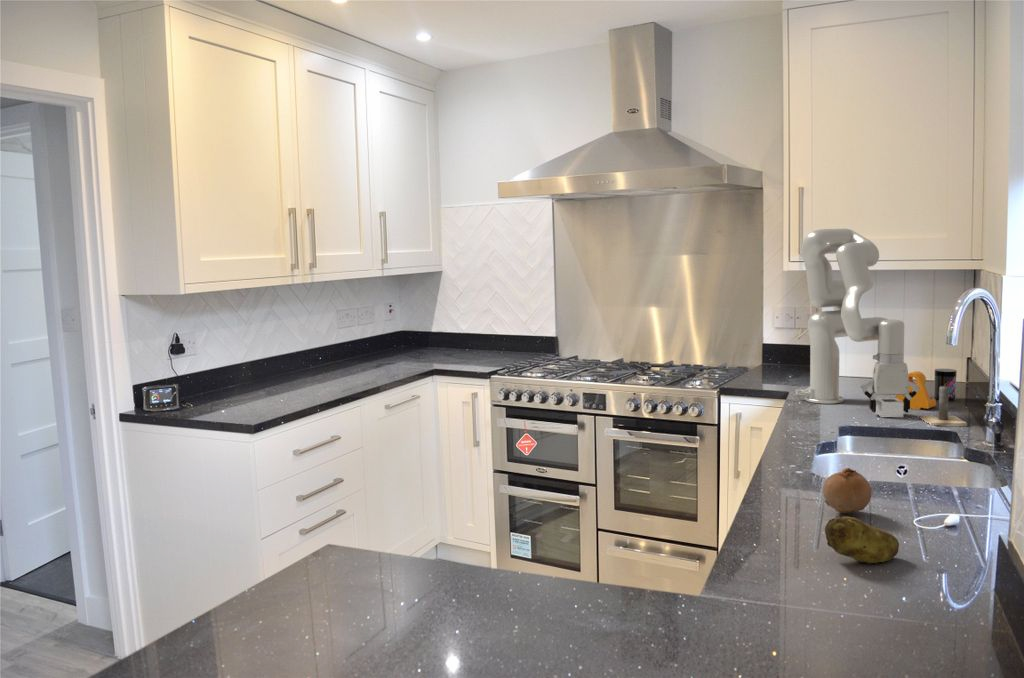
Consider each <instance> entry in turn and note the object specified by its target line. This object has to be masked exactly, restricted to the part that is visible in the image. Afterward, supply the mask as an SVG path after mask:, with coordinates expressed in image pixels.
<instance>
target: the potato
mask: <svg viewBox="0 0 1024 678" xmlns="http://www.w3.org/2000/svg"><path fill="white" fill-rule="evenodd" d="M824 534H825V538H826V540H827V542H826V544H827V545H828V547H829V548H832V549H833V550H834V551H835V552H836V553H837V554H839V555H841V556H844V557H849V558H851V559H854V560H855V561H857V560H858V561H857V562H860V561H862V562H861V563H863V562H868V563H867V564H871V563H875V564H878V563H877V562H882V563H885V561H886V562H888V561H891V559H893V558H895V557H896V556H897V554H898V553H899V547H900V544H899V543H900V542H899V540H898V539H897V537H895V536H894V535H893V534H891V533H890V532H887V531H886V530H883V529H880V528H877V527H875V526H872V525H870V524H867V523H865V522H864V521H862V520H860V519H858V518H856V517H852V516H843V515H842V516H837V517H834V518H831V519H829V520H828V521H827V523H826V524H825V527H824Z"/></svg>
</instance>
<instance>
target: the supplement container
mask: <svg viewBox="0 0 1024 678" xmlns="http://www.w3.org/2000/svg"><path fill="white" fill-rule="evenodd" d="M957 373H958V372H957V370H956V369H953V368H935V369H934V378H933V379H934V381H933V383H934V384H933V385H934V386H933V388H934V389H933V399H936V401H938V402H939V387H940V386H946V387H949V397H948V402H955V400H956V399H957V377H958V376H957V375H958V374H957Z"/></svg>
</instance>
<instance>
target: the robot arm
mask: <svg viewBox="0 0 1024 678" xmlns="http://www.w3.org/2000/svg"><path fill="white" fill-rule="evenodd" d="M828 254H831V255H833V254H835V258H836V262H837V265H838V269H839V272H840V275H841V278H842V279H839V278H838V279H834V276H833V268H832V265H831V263H830V261H829V259H828V258H827V257H826V255H828ZM801 256H802V260H803V264H804V267H805V272H806V273H805V274H806V281H807V282H806V283H807V291H808V298H809V303H810V304H811V305H812V306H813V307H815V308H832V309H833V310H824V311H822V310H821V311H818V312H815V313H814V314H812V315H811V316H809V319H808V321H807V333H808V337H809V345H810V346H809V347H810V349H809V351H810V352H809V353H810V355H809V358H810V362H809V363H810V364H809V369H810V370H809V375H810V376H809V386H807V388H805V389H802V388H800V389H798V388H797V389H795V395H797V396H799V395H800V396H805V397H804V398H805V399H804V400H805V401H807V402H809V403H813V404H822V405H826V404H827V405H830V404H840V403H843V402H844V400H845V399H844V397H843V396H841V395H840V348H839V344H838V343H837V341H836V338H845V337H848V338H850V340H851V341H853V342H856V343H860V342H863V343H864V342H871V341H877V352H876V354H875V355H874V354H872V359H873V360H876V362H875V363H874V367H873V371H872V372H873V373H872V380H870V381H868V382H866V383H864V384H861V385H860V388H861V391H862V392H863V395H865V396H866V397H867V398H868V399H869V406H868V407H869V408H868V409H869V410H870V411H871V412H872V413H876V398H878V396H879V395H880V396H896V395H903V396H904V397H905V398H904V399H903V403H904V406H903V412H905V413H909V410H911V409H910V400H911V399H912V398H913V397H914V396H915V395H916V393H917V391H918V390H919V388H920V386H918V385H916V384H914V383H915V382H914V383H912V382H910V381H909V377H908V374H909V369H908V364H907V363H906V362H905V360H904V358H905V322H904V321H902V320H901V319H888V318H885V317H880V316H877V317H864V318H863V317H861V313H860V309H859V307H860V306H859V304H860V300H861V298H862V296H863V295H864V294H865V293H868V291H870V290H872V289H873V288H874V282H873V279H872V276H871V272H870V267H873V266H875V265H876V264H877V263H878V261H879V260H880V259H879V258H880V252H879V248H878V247H877V245H875V243H874V242H872V241H871V240H870V239H867V238H866V237H865V236H863V235H861V234H860V233H858V232H856V231H854V230H852V229H850V228H849V229H848V228H823V229H822V228H821V229H816V230H813V231H811V232H809V233H808V234H806V236H805V237H804V239H803V241H802V244H801ZM909 386H911V387H913V389H912V391H911V392H910V393H909V394H908V392H909ZM870 387H871V391H872V392H869V391H868V388H870Z"/></svg>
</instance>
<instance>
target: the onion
mask: <svg viewBox="0 0 1024 678" xmlns="http://www.w3.org/2000/svg"><path fill="white" fill-rule="evenodd" d="M822 493H823V497H824V499H825V500H824V502H825V504H826V505H827V506H828V507H830V508H833V510H835V512H838V513H840V514H846V513H847V514H853V513H854V514H855V513H857V512H859V511H863V510H864V509H865V508H867V506H868V505H869V503H870V502H871V498H872V495H873V494H872V487H871V484H870V483H869V481H868V480H867V479H866V477H864V476H863V475H862V474H861V473H859V472H858V471H857V470H855V469H851V467H846V468H844V469H842V470H841V471H839V472H836V473H833V474H831V475H830V476H828V477H827V479H826V481H825V482H824V484H823V488H822Z"/></svg>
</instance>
